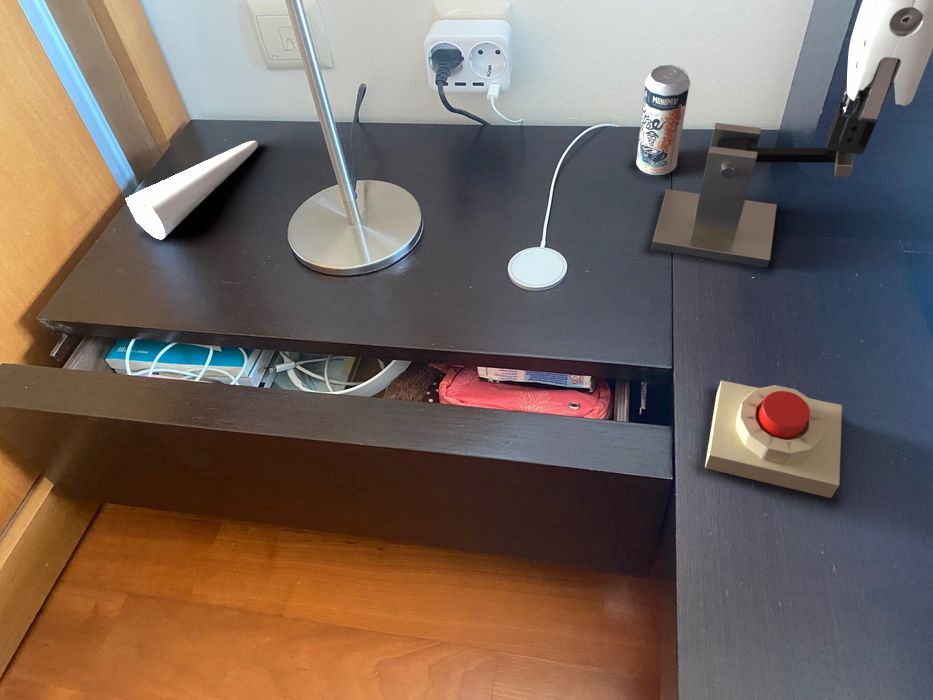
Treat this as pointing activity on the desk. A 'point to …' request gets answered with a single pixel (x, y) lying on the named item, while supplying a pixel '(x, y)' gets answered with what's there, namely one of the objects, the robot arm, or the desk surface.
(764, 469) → the switch block
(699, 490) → the desk surface
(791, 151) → the lever
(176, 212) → the long cone
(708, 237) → the bracket
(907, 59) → the robot arm
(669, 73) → the beer can
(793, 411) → the button
